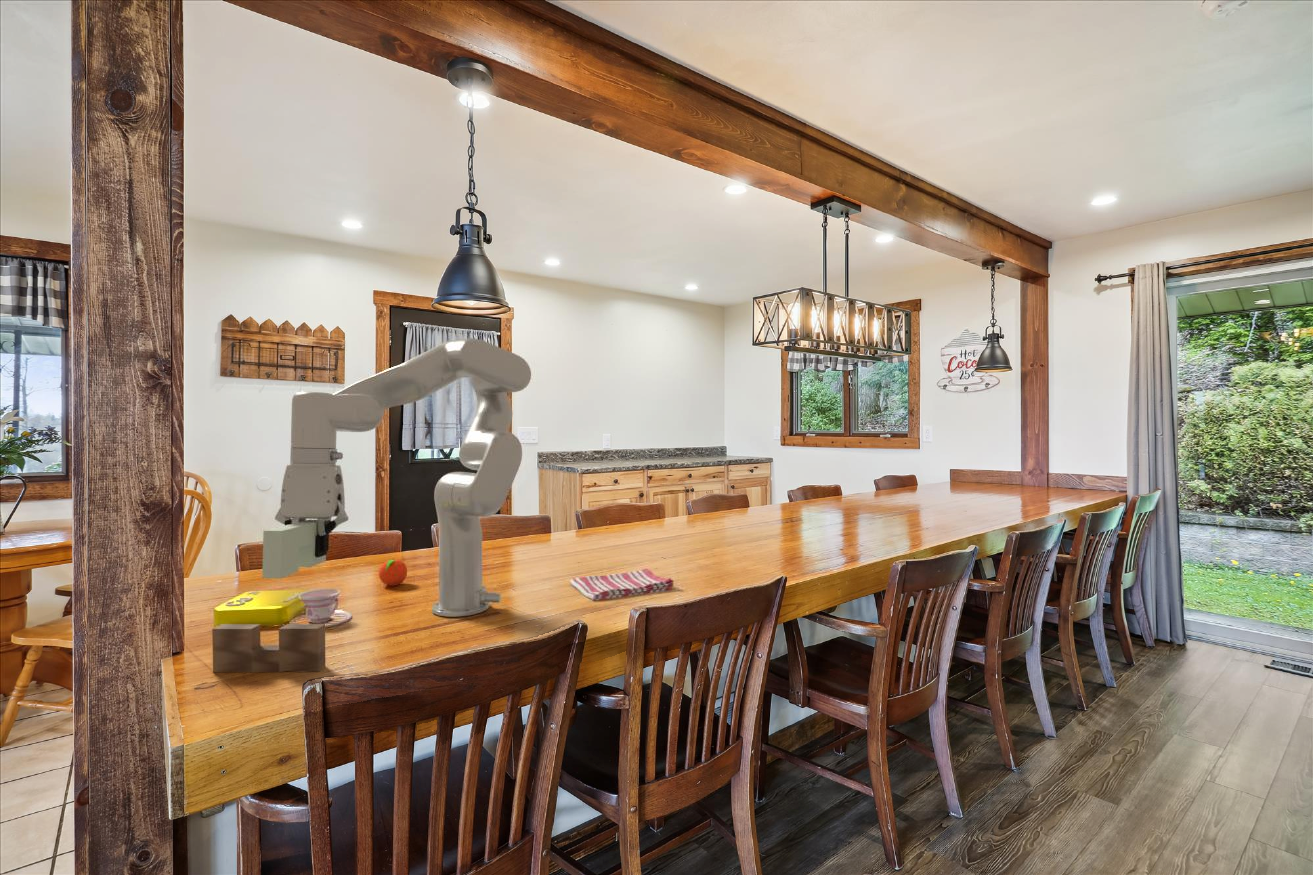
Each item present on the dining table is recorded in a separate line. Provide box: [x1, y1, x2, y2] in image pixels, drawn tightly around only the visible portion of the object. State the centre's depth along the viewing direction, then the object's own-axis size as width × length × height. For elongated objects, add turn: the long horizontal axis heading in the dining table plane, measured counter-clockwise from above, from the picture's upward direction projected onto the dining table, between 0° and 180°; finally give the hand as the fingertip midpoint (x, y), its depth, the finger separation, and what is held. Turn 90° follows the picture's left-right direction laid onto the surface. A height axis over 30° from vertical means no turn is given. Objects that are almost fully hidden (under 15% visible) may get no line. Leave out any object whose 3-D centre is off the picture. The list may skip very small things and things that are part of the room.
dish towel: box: [569, 568, 675, 602], centre depth 165 cm, size 17×23×4 cm
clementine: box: [378, 558, 408, 587], centre depth 166 cm, size 8×7×7 cm
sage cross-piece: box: [261, 519, 327, 580], centre depth 114 cm, size 3×15×8 cm, turn 1°
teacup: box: [289, 588, 352, 628], centre depth 137 cm, size 12×12×6 cm
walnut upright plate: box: [211, 623, 326, 673], centre depth 110 cm, size 18×2×8 cm, turn 91°
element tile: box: [212, 589, 310, 628], centre depth 140 cm, size 15×15×5 cm
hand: (310, 554), depth 119 cm, fingers closed on sage cross-piece, 3 cm apart
